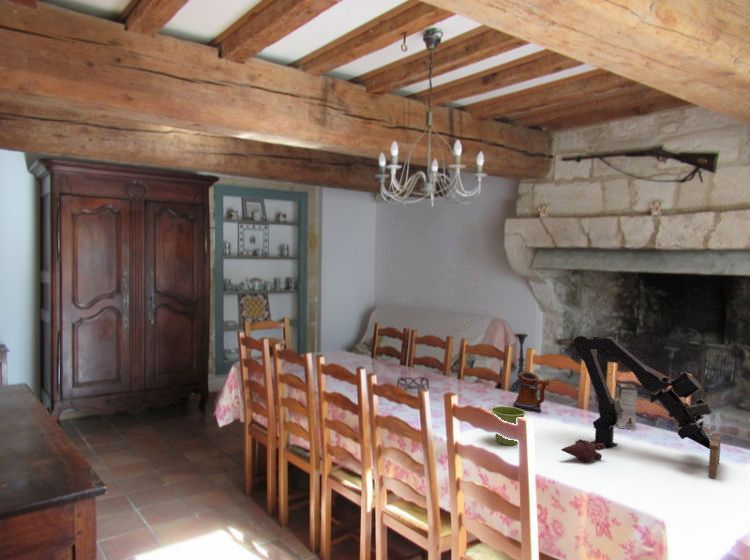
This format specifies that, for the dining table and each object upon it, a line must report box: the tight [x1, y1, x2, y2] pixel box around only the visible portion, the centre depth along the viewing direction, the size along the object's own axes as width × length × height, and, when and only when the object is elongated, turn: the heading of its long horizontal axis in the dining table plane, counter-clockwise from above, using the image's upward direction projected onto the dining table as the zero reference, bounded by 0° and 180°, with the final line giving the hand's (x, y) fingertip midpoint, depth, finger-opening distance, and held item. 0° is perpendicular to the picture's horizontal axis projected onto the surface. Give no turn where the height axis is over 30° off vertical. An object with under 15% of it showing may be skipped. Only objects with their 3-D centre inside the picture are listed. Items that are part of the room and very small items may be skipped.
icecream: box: [561, 438, 606, 463], centre depth 181 cm, size 7×7×15 cm
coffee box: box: [614, 382, 638, 430], centre depth 220 cm, size 9×6×16 cm
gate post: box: [714, 432, 722, 465], centre depth 182 cm, size 2×2×10 cm
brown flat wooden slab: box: [708, 432, 720, 478], centre depth 175 cm, size 14×2×10 cm, turn 146°
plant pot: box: [490, 405, 527, 446], centre depth 196 cm, size 12×12×11 cm
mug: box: [513, 371, 551, 413], centre depth 239 cm, size 18×12×15 cm, turn 24°
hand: (710, 447), depth 178 cm, fingers closed on brown flat wooden slab
